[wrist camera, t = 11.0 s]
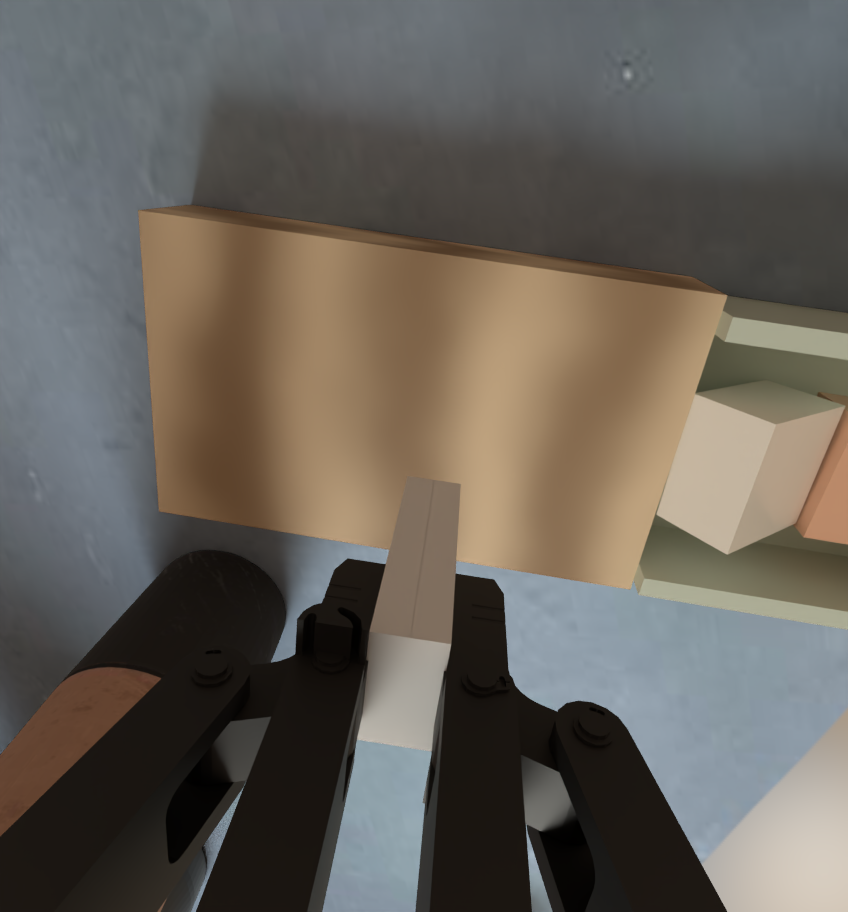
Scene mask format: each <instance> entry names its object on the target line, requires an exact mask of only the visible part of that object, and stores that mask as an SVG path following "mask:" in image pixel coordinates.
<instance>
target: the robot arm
mask: <svg viewBox="0 0 848 912" xmlns="http://www.w3.org/2000/svg"><path fill="white" fill-rule="evenodd" d="M460 489H461V484H458V483H451V482H444V481H438V480H431V479H425V478H418V477H411V476H407V480H406V484H405V488H404V492H403V497H402V501H401V505H400V509H399V513H398V517H397V521H396V525H395V529H394V533H393V537H392V542H391V546H390V550H389V554H388V558H387V562H386V564H380V563H373V562H367V561H360V560H354V559H347V560H345V561H344V562H343V563H342V564H341V565H339V566H338V567H337V568H336V569H335V570H334V572H333V575H332V578H331V580H330V583H329V586H328V588H327V591H326V594H325V598H324V599H323V602H322V603H321V604H316V605H313V606H311V607H310V608H308V609H306V610H305V611H303V612H302V614H301V615H300V616H299V618H298V619H297V634H296V653H295V655H293V656H291V657H290V658H287V659H284V660H282V661H278V662H272V663H265V664H254V665H250V662H249V661H248V659H247V658H246V656H245V655H244V654H243V653H241V652H239V651H238V650H236V649H234V648H230V647H225V646H211V647H204V648H201V649H198V650H196V651H193V652H191V653H190V654H188V655H187V656H185V657H184V658H182V659H181V660H180V661H179V662H178V663H177V664H176V665H175V666H174V667H173V668H172V669H171V670H170V671H169V672H168V673H167V674H166V675H165V676H164V677H162V678H161V679H160V680H159V681H158V682H157V683H156V684H155V685H154V686H153V687H152V688H151V689H150V690H149V691H148V692H147V693H146V694H145V695H144V696H143V697H142V698H141V699H140V700H139V701H138V702H137V703H136V704H135V705H134V706H133V707H132V708H131V709H130V710H129V711H128V712H127V713H126V714H125V715H124V716H123V717H122V718H121V719H120V720H119V721H118V722H117V723H116V724H115V725H113V726H112V727H111V728H110V729H109V730H108V731H107V732H106V733H105V734H104V735H103V736H102V737H101V738H100V739H99V740H98V741H97V742H96V743H95V744H94V745H93V746H92V747H91V748H90V749H89V750H88V751H87V752H86V753H85V754H84V755H83V756H82V757H81V758H80V759H79V760H78V761H77V762H76V763H75V764H74V765H73V766H72V767H71V768H70V769H69V770H68V771H67V772H66V773H64V774H63V775H62V776H61V777H60V778H59V779H58V780H57V781H56V782H55V783H54V784H53V785H52V786H51V787H50V788H49V789H48V790H47V791H46V792H45V793H44V794H43V795H42V796H41V797H40V798H39V799H38V800H37V801H36V802H35V803H34V804H33V805H32V806H31V807H30V808H29V809H28V810H27V811H26V812H25V813H24V814H23V815H22V816H21V817H20V818H19V819H18V820H16V821H15V822H14V823H13V824H12V825H11V826H10V827H9V828H8V829H7V830H6V831H5V832H4V833H3V834H2V835H1V836H0V912H158V910H159V909H160V907H161V906H162V904H163V903H164V902H165V903H164V906H163V908H162V910H161V912H191V910H192V908H193V905H194V903H195V901H196V898H197V896H198V893H199V891H200V889H201V886H202V884H203V881H204V878H205V874H206V862H205V857H204V853H203V850H202V846H203V845H204V843H205V842H206V841H207V839H208V838H209V836H210V835H211V833H212V832H213V830H214V829H215V827H216V826H217V825H218V823H219V822H220V820H221V819H222V817H223V816H224V814H225V813H226V811H227V810H228V809H229V807H230V806H231V804H232V803H233V801H234V800H235V798H236V797H237V795H238V794H239V793H240V791H241V790H242V788H243V787H244V789H243V791H242V794H241V796H240V799H239V802H238V804H237V807H236V809H235V812H234V814H233V817H232V820H231V822H230V825H229V827H228V830H227V833H226V835H225V838H224V840H223V843H222V846H221V848H220V851H219V853H218V856H217V858H216V861H215V864H214V866H213V869H212V871H211V874H210V877H209V879H208V882H207V884H206V887H205V889H204V892H203V895H202V897H201V900H200V902H199V905H198V908H197V910H196V912H322V910H323V905H324V900H325V896H326V891H327V886H328V882H329V877H330V872H331V867H332V863H333V858H334V853H335V849H336V844H337V839H338V835H339V830H340V825H341V820H342V816H343V811H344V806H345V802H346V797H347V792H348V788H349V783H350V778H351V773H352V769H353V764H354V755H355V747H356V741H357V740H363V741H369V742H376V743H382V744H388V745H394V746H400V747H407V748H413V749H419V750H425V751H432V754H431V761H430V766H429V771H428V777H427V782H426V788H425V793H424V798H423V803H425V812H424V823H423V834H422V845H421V856H420V868H419V879H418V890H417V901H416V912H532V908H531V894H530V879H529V865H528V851H527V837H526V824H527V831H528V835H529V838H530V841H531V844H532V847H533V850H534V854H535V857H536V860H537V863H538V866H539V870H540V873H541V876H542V879H543V882H544V886H545V889H546V892H547V895H548V898H549V901H550V905H551V908H552V911H553V912H727V911H726V909H725V907H724V905H723V903H722V901H721V900H720V898H719V896H718V894H717V892H716V890H715V888H714V887H713V885H712V883H711V881H710V879H709V877H708V876H707V874H706V872H705V870H704V868H703V866H702V865H701V863H700V861H699V859H698V857H697V855H696V854H695V852H694V850H693V848H692V846H691V845H690V843H689V841H688V839H687V837H686V835H685V834H684V832H683V830H682V828H681V826H680V824H679V823H678V821H677V819H676V817H675V815H674V813H673V812H672V810H671V808H670V806H669V804H668V802H667V801H666V799H665V797H664V795H663V793H662V792H661V790H660V788H659V786H658V784H657V782H656V781H655V779H654V777H653V775H652V773H651V771H650V770H649V768H648V766H647V764H646V762H645V760H644V759H643V757H642V755H641V753H640V751H639V749H638V748H637V746H636V744H635V742H634V740H633V739H632V737H631V735H630V733H629V731H628V729H627V728H626V727H625V725H624V724H623V723H622V721H621V720H620V719H619V718H618V717H617V716H616V715H614V714H613V713H612V712H610V711H609V710H608V709H606V708H604V707H602V706H599V705H597V704H594V703H592V702H584V701H575V702H570V703H566V704H565V705H564V706H563V707H561V708H560V709H559V710H558V712H557V711H554V710H552V709H550V708H547V707H545V706H542V705H540V704H538V703H536V702H534V701H532V700H531V699H529V698H528V697H526V696H525V695H524V694H523V693H521V692H520V691H519V689H518V688H517V687H516V686H515V684H514V681H513V678H512V677H511V676H510V675H509V670H508V657H507V640H506V625H505V612H504V610H505V608H504V594H503V592H502V591H501V589H500V588H499V586H498V585H497V583H496V582H495V580H493V579H487V578H480V577H474V576H467V575H461V574H455V573H456V556H457V539H458V523H459V506H460ZM246 780H247V781H246ZM245 782H246V783H245ZM244 784H245V786H244ZM165 900H166V901H165Z"/></svg>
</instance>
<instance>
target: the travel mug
mask: <svg viewBox="0 0 848 912" xmlns="http://www.w3.org/2000/svg"><path fill="white" fill-rule="evenodd" d="M285 619H286V611H285V605H284V601H283V598H282V596H281V594H280V591H279V590H278V588H277V586H276V585H275V583H274V582H273V581H272V580H271V578H270V577H269V576H268V575H267V574H266V573H265V572H264V571H262V570H261V569H260V568H259V567H257V566H256V565H254V564H253V563H251V562H250V561H248V560H246V559H244V558H242V557H239V556H236V555H234V554H230V553H226V552H221V551H212V550H205V551H197V552H192V553H189V554H186V555H183V556H182V557H180V558H178V559H176V560H175V561H173V562H172V563H171V564H170V565H168V566H167V567H166V568H165V569H164V570H163V572H162V573H161V574H160V575H159V576H158V577H157V578H156V579H155V580H154V581H153V582H152V583H151V584H150V585H149V586H148V588H147V589H146V590H145V591H144V592H143V593H142V594H141V595H140V596H139V597H138V599H137V600H136V601H135V602H134V603H133V604H132V605H131V606H130V607H129V608H128V610H127V611H126V612H125V613H124V614H123V615H122V616H121V617H120V618H119V619H118V621H117V622H116V623H115V624H114V625H113V626H112V627H111V628H110V629H109V630H108V632H107V633H106V634H105V635H104V636H103V637H102V638H101V639H100V640H99V641H98V643H97V644H96V645H95V646H94V647H93V648H92V649H91V650H90V651H89V653H88V654H87V655H86V656H85V657H84V658H83V659H82V660H81V661H80V662H79V664H78V665H77V666H76V667H75V668H74V669H73V670H72V671H71V672H70V673H69V675H68V676H67V677H66V678H65V679H64V680H63V681H62V682H61V684H60V685H59V686H58V687H57V688H56V689H55V690H54V691H53V693H52V694H51V695H50V696H49V697H48V699H47V700H46V701H45V702H44V703H43V705H42V706H41V707H40V708H39V709H38V710H37V712H36V713H35V714H34V715H33V716H32V718H31V719H30V720H29V721H28V722H27V724H26V725H25V726H24V727H23V728H22V730H21V731H20V732H19V733H18V734H17V736H16V737H15V738H14V739H13V740H12V742H11V743H10V744H9V745H8V746H7V748H6V749H5V750H4V751H3V752H2V754H1V755H0V836H1V835H2V834H3V833H4V832H5V831H6V830H7V829H8V828H9V827H10V826H11V825H12V824H13V823H14V822H15V821H16V820H18V819H19V818H20V817H21V816H22V815H23V814H24V813H25V812H26V811H27V810H28V809H29V808H30V807H31V806H32V805H33V804H34V803H35V802H36V801H37V800H38V799H39V798H40V797H41V796H42V795H43V794H44V793H45V792H46V791H47V790H48V789H49V788H50V787H51V786H52V785H53V784H54V783H55V782H56V781H57V780H58V779H59V778H60V777H61V776H62V775H63V774H64V773H66V772H67V771H68V770H69V769H70V768H71V767H72V766H73V765H74V764H75V763H76V762H77V761H78V760H79V759H80V758H81V757H82V756H83V755H84V754H85V753H86V752H87V751H88V750H89V749H90V748H91V747H92V746H93V745H94V744H95V743H96V742H97V741H98V740H99V739H100V738H101V737H102V736H103V735H104V734H105V733H106V732H107V731H108V730H109V729H110V728H111V727H112V726H113V725H115V724H116V723H117V722H118V721H119V720H120V719H121V718H122V717H123V716H124V715H125V714H126V713H127V712H128V711H129V710H130V709H131V708H132V707H133V706H134V705H135V704H136V703H137V702H138V701H139V700H140V699H141V698H142V697H143V696H144V695H145V694H146V693H147V692H148V691H149V690H150V689H151V688H152V687H153V686H154V685H155V684H156V683H157V682H158V681H159V680H160V679H161V678H162V677H164V676H165V675H166V674H167V673H168V672H169V671H170V670H171V669H172V668H173V667H174V666H175V665H176V664H177V663H178V662H179V661H180V660H181V659H182V658H184V657H185V656H187V655H188V654H190V653H191V652H193V651H196V650H198V649H201V648H204V647H211V646H225V647H230V648H234V649H236V650H238V651H239V652H241V653H243V654H244V655H245V656H246V658H247V659H248V661H249V662H250V665H254V664H265V663H271V660H272V658H273V655H274V653H275V650H276V648H277V645H278V643H279V640H280V638H281V635H282V632H283V629H284V625H285ZM165 901H166V900H165ZM164 903H165V902H164ZM164 903H163V904H162V906H161V907H160V909H159V910H158V912H161V910H162V908H163V906H164Z"/></svg>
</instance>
